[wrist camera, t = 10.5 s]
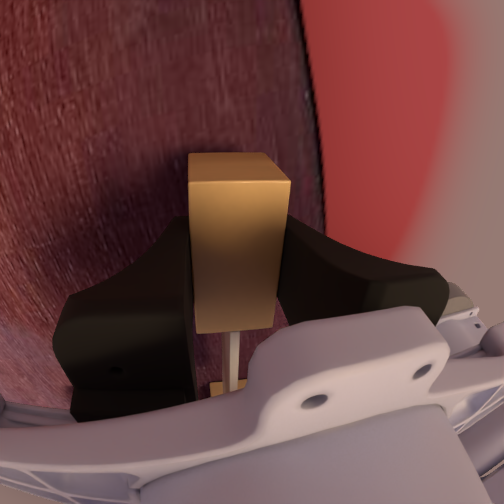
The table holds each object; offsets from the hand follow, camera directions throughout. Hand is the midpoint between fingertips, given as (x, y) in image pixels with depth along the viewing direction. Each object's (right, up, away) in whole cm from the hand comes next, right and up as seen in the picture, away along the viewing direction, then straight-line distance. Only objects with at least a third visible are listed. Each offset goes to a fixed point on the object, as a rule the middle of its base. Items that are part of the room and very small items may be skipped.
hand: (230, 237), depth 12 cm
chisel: (-1, -3, +3) cm, 5 cm away
